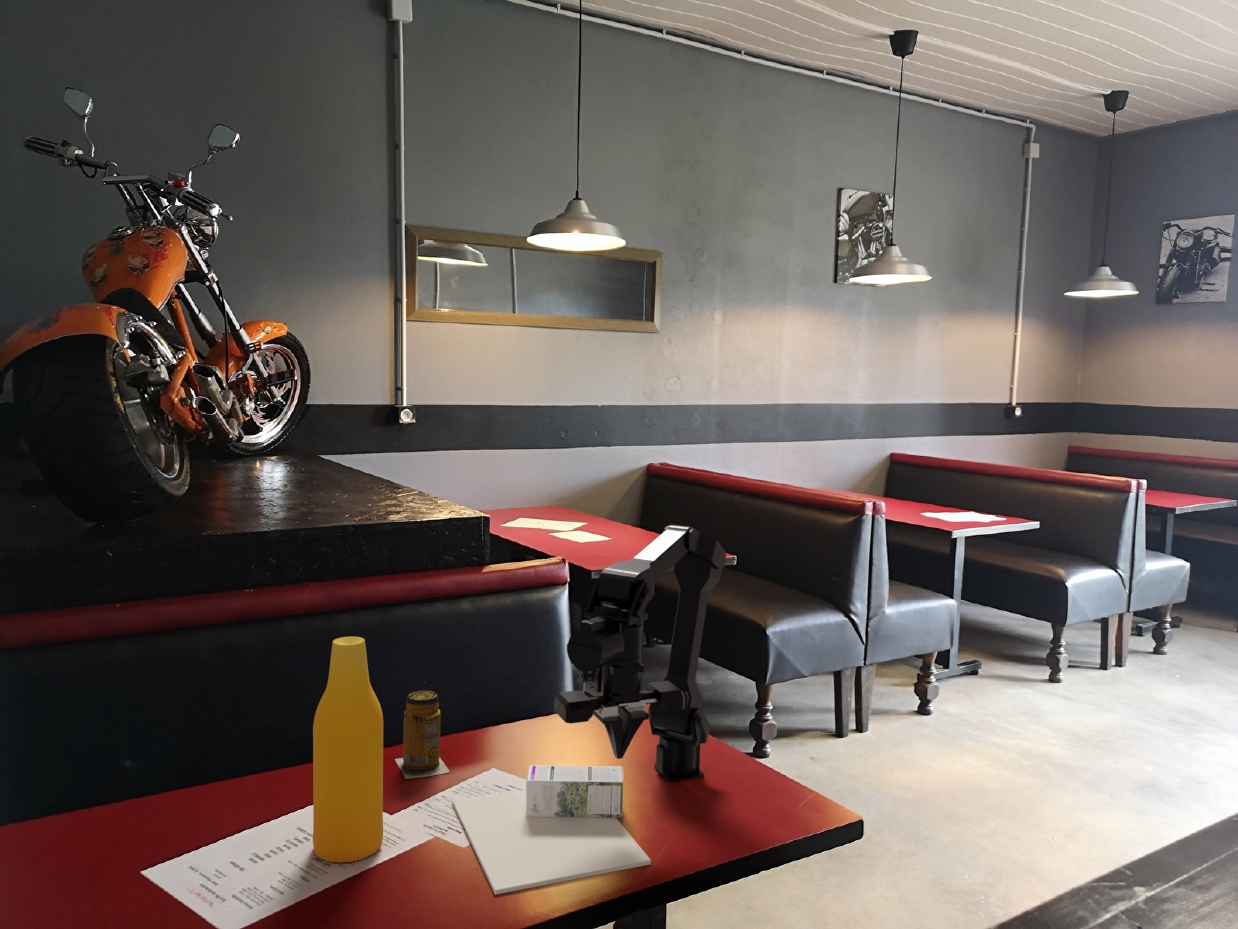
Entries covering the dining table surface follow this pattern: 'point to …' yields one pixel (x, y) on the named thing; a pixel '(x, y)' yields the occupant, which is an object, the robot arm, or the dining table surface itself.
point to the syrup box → (574, 791)
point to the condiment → (421, 737)
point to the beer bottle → (348, 759)
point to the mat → (542, 843)
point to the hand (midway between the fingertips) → (618, 757)
